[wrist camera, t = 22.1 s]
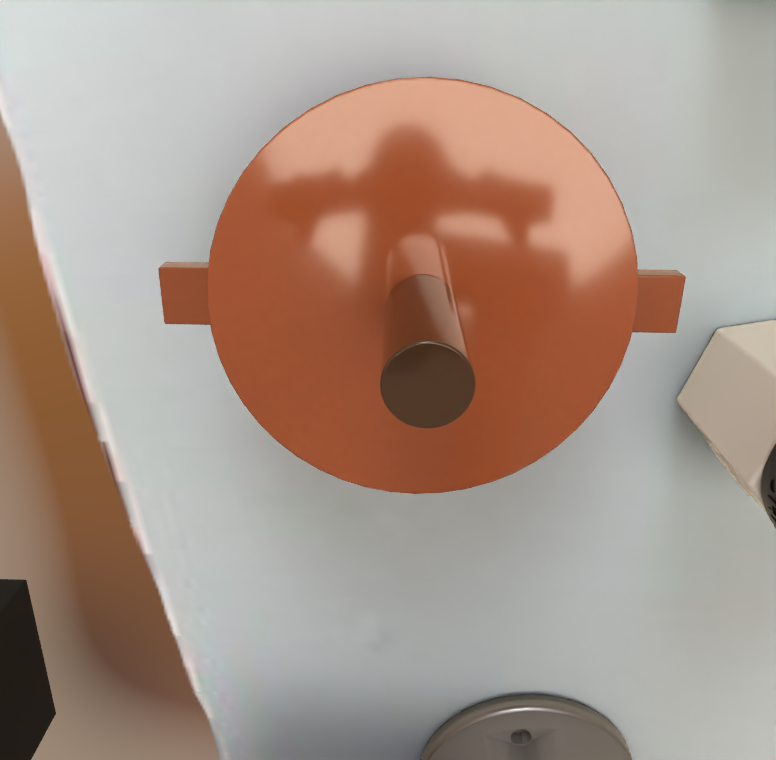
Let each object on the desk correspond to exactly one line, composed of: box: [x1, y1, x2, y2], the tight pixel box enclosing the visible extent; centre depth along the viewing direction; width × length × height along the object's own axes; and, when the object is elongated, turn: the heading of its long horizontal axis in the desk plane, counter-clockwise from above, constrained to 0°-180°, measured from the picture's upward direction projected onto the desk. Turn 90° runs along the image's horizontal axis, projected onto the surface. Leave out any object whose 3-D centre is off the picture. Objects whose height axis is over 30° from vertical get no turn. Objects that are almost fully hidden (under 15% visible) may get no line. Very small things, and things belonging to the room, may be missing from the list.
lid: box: [207, 77, 638, 494], centre depth 25 cm, size 17×17×9 cm
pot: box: [158, 262, 686, 333], centre depth 33 cm, size 16×21×10 cm
